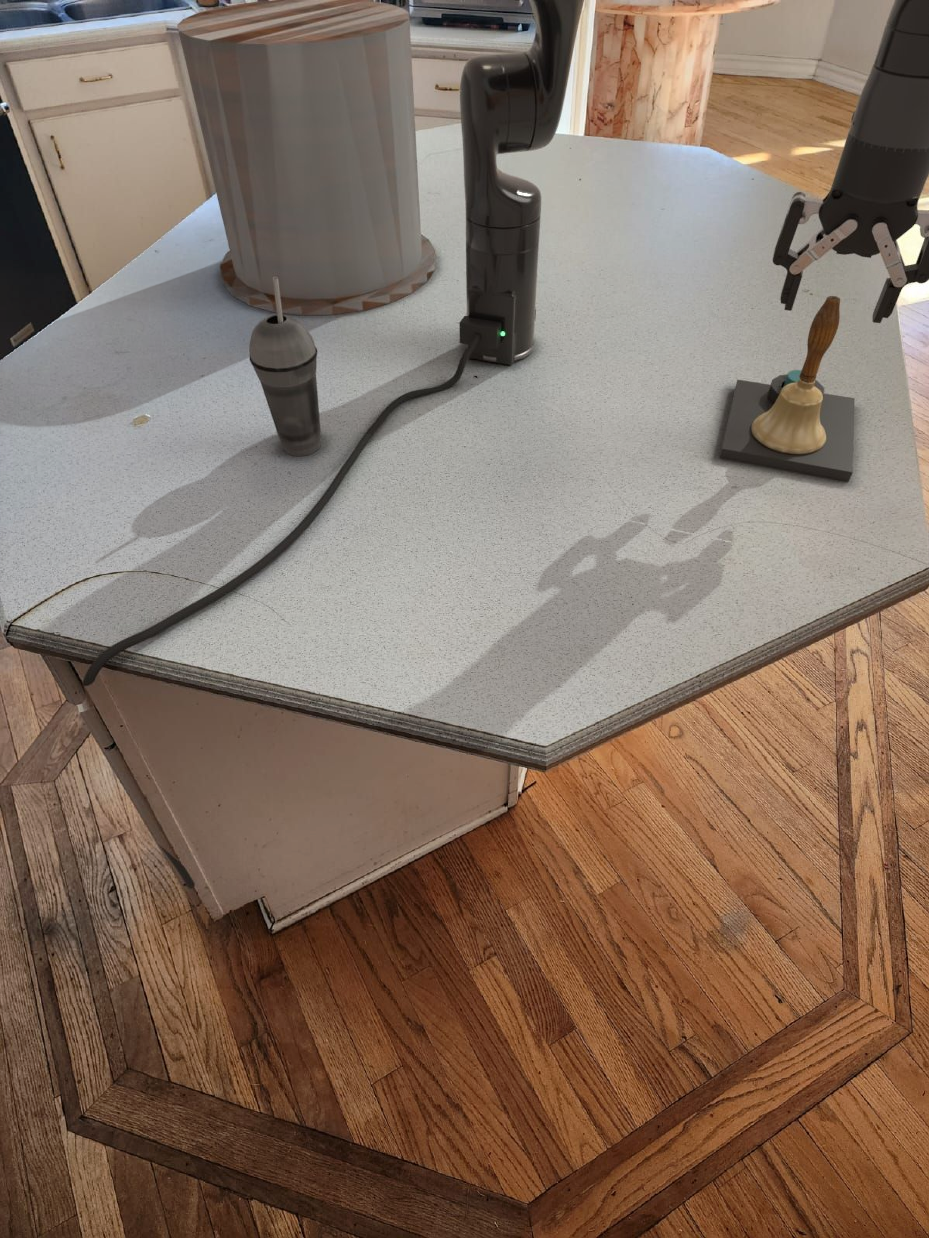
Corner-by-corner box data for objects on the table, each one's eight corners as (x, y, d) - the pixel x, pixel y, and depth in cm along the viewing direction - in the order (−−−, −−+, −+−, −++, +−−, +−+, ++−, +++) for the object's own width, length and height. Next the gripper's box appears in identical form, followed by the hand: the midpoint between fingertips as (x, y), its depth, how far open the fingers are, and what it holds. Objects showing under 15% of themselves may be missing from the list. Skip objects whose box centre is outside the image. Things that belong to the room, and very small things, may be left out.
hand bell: (814, 463, 84) (868, 324, 72) (741, 440, 87) (781, 303, 75) (834, 427, 88) (888, 291, 77) (763, 407, 92) (805, 273, 80)
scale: (848, 482, 84) (858, 460, 81) (718, 458, 87) (725, 436, 85) (850, 406, 94) (859, 384, 92) (735, 387, 97) (741, 365, 95)
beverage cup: (304, 421, 93) (271, 254, 79) (345, 442, 90) (319, 272, 76) (258, 448, 90) (214, 278, 75) (300, 470, 86) (263, 297, 72)
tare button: (810, 398, 90) (814, 385, 89) (782, 394, 91) (786, 381, 90) (811, 385, 92) (816, 372, 91) (784, 381, 93) (788, 368, 92)
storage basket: (478, 255, 127) (478, 10, 103) (334, 337, 108) (293, 61, 84) (327, 211, 141) (296, -12, 117) (176, 277, 122) (104, 27, 99)
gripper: (807, 136, 65) (756, 320, 77) (991, 152, 61) (908, 341, 73) (811, 112, 69) (762, 288, 81) (982, 125, 66) (905, 307, 78)
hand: (831, 313), depth 77 cm, fingers open, 8 cm apart
